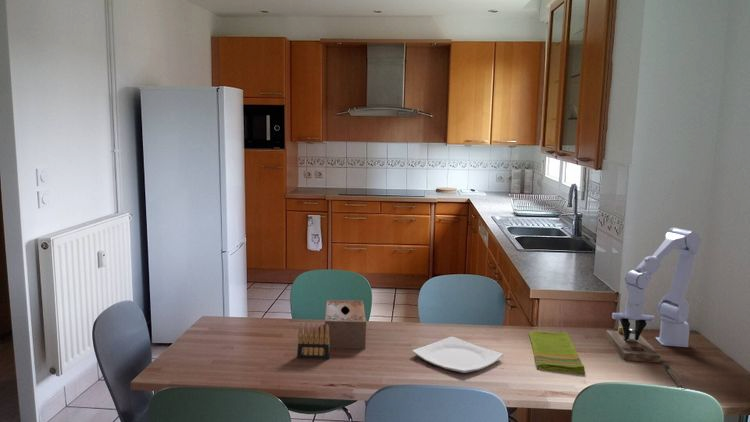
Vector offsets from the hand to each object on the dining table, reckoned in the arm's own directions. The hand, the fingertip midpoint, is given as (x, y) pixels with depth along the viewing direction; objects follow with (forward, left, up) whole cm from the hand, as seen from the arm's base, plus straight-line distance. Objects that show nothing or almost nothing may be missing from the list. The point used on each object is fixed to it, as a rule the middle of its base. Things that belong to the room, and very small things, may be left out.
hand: (631, 338), depth 213 cm
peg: (0, 0, -3) cm, 3 cm away
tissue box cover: (+106, +11, -4) cm, 106 cm away
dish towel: (+29, +11, -4) cm, 32 cm away
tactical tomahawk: (-7, +26, -4) cm, 27 cm away
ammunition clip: (+112, +35, -4) cm, 117 cm away
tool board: (0, +1, -3) cm, 4 cm away
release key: (0, -7, -1) cm, 7 cm away
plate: (+64, +25, -4) cm, 69 cm away
